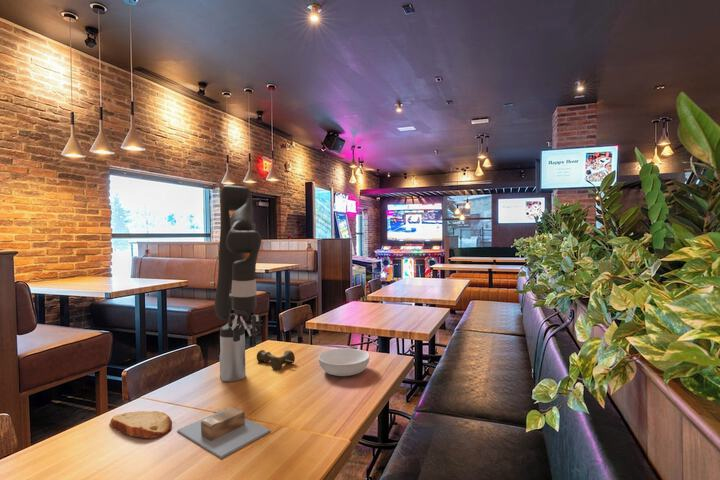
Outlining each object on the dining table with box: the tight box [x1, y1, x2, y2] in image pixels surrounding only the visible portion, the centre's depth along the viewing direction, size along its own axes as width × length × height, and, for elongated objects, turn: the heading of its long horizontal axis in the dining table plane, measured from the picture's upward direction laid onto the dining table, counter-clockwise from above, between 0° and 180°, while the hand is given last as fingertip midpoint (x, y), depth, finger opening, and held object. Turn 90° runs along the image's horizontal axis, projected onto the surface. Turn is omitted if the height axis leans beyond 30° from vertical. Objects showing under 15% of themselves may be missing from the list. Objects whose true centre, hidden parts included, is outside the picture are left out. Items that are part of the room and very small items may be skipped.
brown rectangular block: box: [201, 406, 246, 441], centre depth 112 cm, size 11×5×4 cm, turn 142°
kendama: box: [256, 349, 296, 371], centre depth 167 cm, size 6×10×20 cm
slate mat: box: [176, 408, 271, 459], centre depth 112 cm, size 22×16×1 cm
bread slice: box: [109, 410, 173, 440], centre depth 115 cm, size 18×18×4 cm
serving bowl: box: [318, 347, 370, 377], centre depth 157 cm, size 21×21×7 cm
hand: (244, 343), depth 123 cm, fingers open, 8 cm apart
